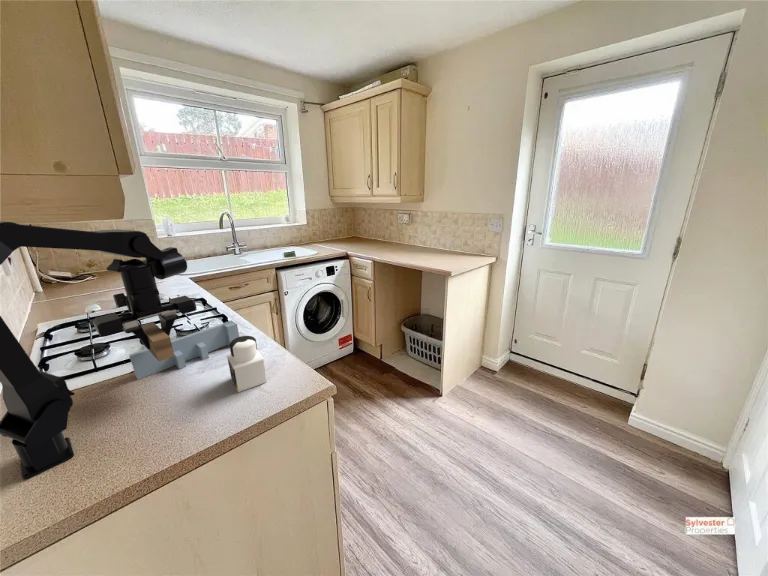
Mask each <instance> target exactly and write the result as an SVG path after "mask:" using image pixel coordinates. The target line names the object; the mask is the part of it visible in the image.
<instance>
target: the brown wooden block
mask: <svg viewBox="0 0 768 576" xmlns="http://www.w3.org/2000/svg"><path fill="white" fill-rule="evenodd" d="M140 326H141V327H142V328H143V331H144V333H145V335H146V338H147V340H148V342H149V345H150V349H149V351H150V352H151V353H152V354H153V356H154V357H155V358H156V359H157V360H158V361H162V360H165V359H167V358H170V357H173V356H175V355H174V351H173V347H172V344H171V341H172V339H171V337H170V335H169V336H168V335H167V334H166V333H165V332H164V331H163V330H161V327H160V326H158V324H156V323H155V322H154V321H152V322H147V323H144V324H141V325H140ZM143 345H144V344H143ZM144 347H145V348H146V346H145V345H144Z"/></svg>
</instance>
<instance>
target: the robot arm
mask: <svg viewBox="0 0 768 576" xmlns="http://www.w3.org/2000/svg"><path fill="white" fill-rule="evenodd" d="M20 247H23V248H24V247H25V248H41V249H42V248H43V249H63V250H78V251H79V250H80V251H82V250H83V251H94V252H99V253H103V254H108V255H114V256H117V257H118V256H119V257H126V258H127V257H128V258H131V259H126V260H123V259H120V258H119V259H117V258H114V259H112V262H111V263H110V264H109V265H108V266H107V267H106V271H108V272H113V273H120V277H121V280H122V284H123V287H124V291H125V293H124V292H120V293H115V294H113V295H112V297H113V299H114V304H115V307H116V308H119V309H120V308H124V307H126V308H127V310H128V312H129V313H130V314H126V315H122V316H118V315H117V314H116V312H113V313H109V314H106V315H102V316H97V317H95V318H94V319H93V320H92V324H93V326H94V329H95V332H97V334H98V335H99V337H101V338H105V337H109V336H112V335H116V334H119V333H121V332H122V330H123V332H125V334H133V335H135V336H136V337H137V338H138V339H139V340H140V342H141V343H142V345H145V346H146V347H145V346H144V347H145V348H146V349H148V350H149V349H150V345H149V342H148V340H147V338H146V335H145V333H144V331H143V328H142V327H141V325H140V323H139V321H142V320H146V319H149V318H153V317H157V316H158V319H159V323H160V324H159V325H160V329H161V330H163V331H164V332H165V333H166V334H167V335H168V336H169V337H170V334H171V331H172V328H173V326H174V325H175V324H174V323H176V320H178V319H180V316H179V315H178V314H177V311H178V312H179V313H181V314H184V315H185V314H186V315H187V314H190V313H192V312H196V311H197V310H198V309H197V305H196V304H197V303H196V301H195V300H194V299H191V298H190V297H189V296H187V295H182V296H178V297H174V298H170V300H169V303H167V304H164V305H162V302H161V298H160V292H159V289H158V286H157V282H156V279H158V280H165V279H168V278H172V277H174V276H177V275H182V274H184V273H186V271H187V270H188V262H187V260H186V259H185V257H184V256H183V254H181V253H180V252H179V251H178V247H166V248H164V249H159V247H158V246H156V245H155V244H154V243H153V242H152V241H151V239H150V237H149V236H148V235H147V233H145V232H144V231H141V230H131V229H130V230H129V229H119V228H118V229H116V228H115V229H102V230H90V231H89V230H77V229H68V228H57V227H50V226H48V227H47V226H39V225H38V226H37V225H27V224H20V223H17V222H13V221H3V220H0V266H1V265H2V264H3V263H4V262H5V261H6V260H7V259H8V257H10V255H12V253H13V252H15V250H17V249H18V248H20ZM141 258H143V260H141ZM155 278H156V279H155ZM125 294H126V295H125ZM0 383H1V386H2V400H3V402H4V405H5V407H6V409H7V410H6V412H5V414H4V415H3V417H2V418H1V420H0V435H1V436H2V437H5V438H6V437H7V438H10V439H11V440H12V441H11V444H12V445H13V447H14V449H15V451H16V454H17V455H18V458H19V459H20V460H19V462H20V468H21V477H22V478H21V479H23V480H27V479H29V478H31V477H33V476H36V475H38V474H40V473H42V472H44V471H47V470H49V469H51V468H53V467H55V466H57V465H59V464H61V463H63V462H66V461H67V460H70V459H72V458H73V457H74V456H75V452H74V449H73V446H72V442H71V440H70V437H65V436H64V434H63V432H64V431H65V430H66V429H67V428H68V419H69V412H70V411H71V408H72V407H73V406H74V400H73V398H72V397H71V396H74V395H76V394H75V392H72V391H71V390H70V389H69V388H68V385H67V382H66V380H65V379H64V377H62V376H57V375H55V374H51V373H47V372H45V371H41V372H40V371H39V370H38V368H37V366H36V365H35V364H34V362H33V360H32V359H31V358H30V356H29V355H28V354H27V352H26V350H25V349H24V347H23V346H22V345H21V343H20V342H19V340H18V339H17V338H16V336H15V335H14V333H13V332H12V330H11V329H10V328H9V326H8V324H7V323H6V322H5V320H4V319H3V317H2V316H1V315H0Z"/></svg>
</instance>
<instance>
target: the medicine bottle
mask: <svg viewBox="0 0 768 576" xmlns="http://www.w3.org/2000/svg"><path fill="white" fill-rule="evenodd" d="M229 346H230V347H229ZM229 346H228V347H229V350H230V354H228V355H227V362H228V363H227V364H228V368H229V372H230V377H231V380H232V383H233V385H234V387H235V390H236V391H237V393H240V392H243V391H246V390H249V389H252V388H254V387H257V386H259V385H262V384H265V383H267V382H268V380H267V373H266V365H265V360H264V359H265V358H264V357H263V356H262V354H261V352H260V351H259V350H258V347H257V346H258V344H257V339H256V338H255V337H254V336H252V335H241V336H239V337H238V338H235V339H233V340H232V341H231V342H230V344H229Z"/></svg>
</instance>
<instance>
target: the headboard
mask: <svg viewBox="0 0 768 576" xmlns="http://www.w3.org/2000/svg"><path fill="white" fill-rule="evenodd" d="M238 337H240V334H239V327H238V323H236V322H235V321H233V320H229V321H227V322H223V323H220V324H216V325H215V326H211V327H207V328H206V329H205V328H204V329H201V330H199V331H196V332H193V333H190V334H186V335H184V336H181V337H177V338H175V339H171V344H172V347H173V351H174V355H175V356H173V357H170V358H167V359H165V360H162V361H158V360H157V359H156V358H155V357H154V356H153V354H152V353H151V352H150V351H149V350H148V349H147V348H146V349H142V350H139V351H137V352H133V353H130V354H129V359H130V362H131V365H132V368H133V372H134V375H135V378H136V380H141V379H144V378H146V377H149V376H151V375H155V374H156V373H158V372H162V371H164V370H167V369H169V368H172V367H174V366H176V367H177V368H178V369H179V370H181V369H184V368H186V367H187V365H186V362H188V361H189V360H193V359H194V358H197V357H199V358H200V359H201V360H202V361H203V360H206V359H208V358H209V353H210V352H212V351H216V350H219V349H220V348H224V347H226V346H227V347H229V348H230V346H229V344H230V342H231V341H232V340H233V339H235V338H238Z"/></svg>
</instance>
